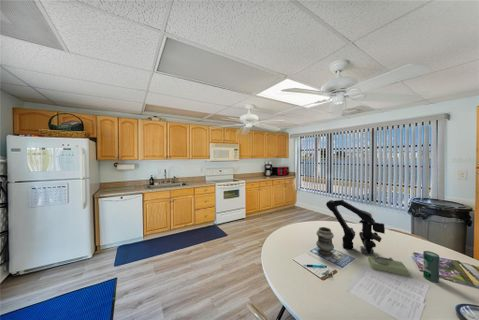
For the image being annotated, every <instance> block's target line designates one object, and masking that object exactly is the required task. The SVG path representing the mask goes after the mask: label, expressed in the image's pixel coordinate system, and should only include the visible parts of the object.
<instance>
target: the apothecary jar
mask: <svg viewBox="0 0 479 320" xmlns="http://www.w3.org/2000/svg"><path fill="white" fill-rule="evenodd" d="M316 236H317V241H316V246H317V248H318V249H317V252H318V254H320V255H322V256H325V257H332V256H333V252H332V251H333V250H334V249H335V245H334V244H333V239H334V233H333V232H332V229H330V228H329V227H325V226H322V227H318V230H317V231H316Z"/></svg>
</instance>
